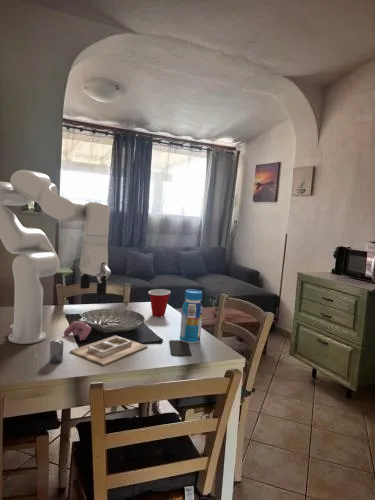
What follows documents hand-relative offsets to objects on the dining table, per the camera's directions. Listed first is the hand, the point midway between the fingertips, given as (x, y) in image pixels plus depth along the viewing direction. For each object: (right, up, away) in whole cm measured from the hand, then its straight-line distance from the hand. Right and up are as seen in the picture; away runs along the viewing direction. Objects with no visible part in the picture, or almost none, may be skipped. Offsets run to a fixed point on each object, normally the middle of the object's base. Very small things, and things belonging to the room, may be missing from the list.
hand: (92, 291), depth 124 cm
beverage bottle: (+32, -22, +24) cm, 46 cm away
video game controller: (-10, -20, +18) cm, 29 cm away
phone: (+29, -23, +15) cm, 40 cm away
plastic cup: (+17, -18, +55) cm, 61 cm away
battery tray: (+4, -22, +8) cm, 23 cm away
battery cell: (-10, -22, -5) cm, 25 cm away
